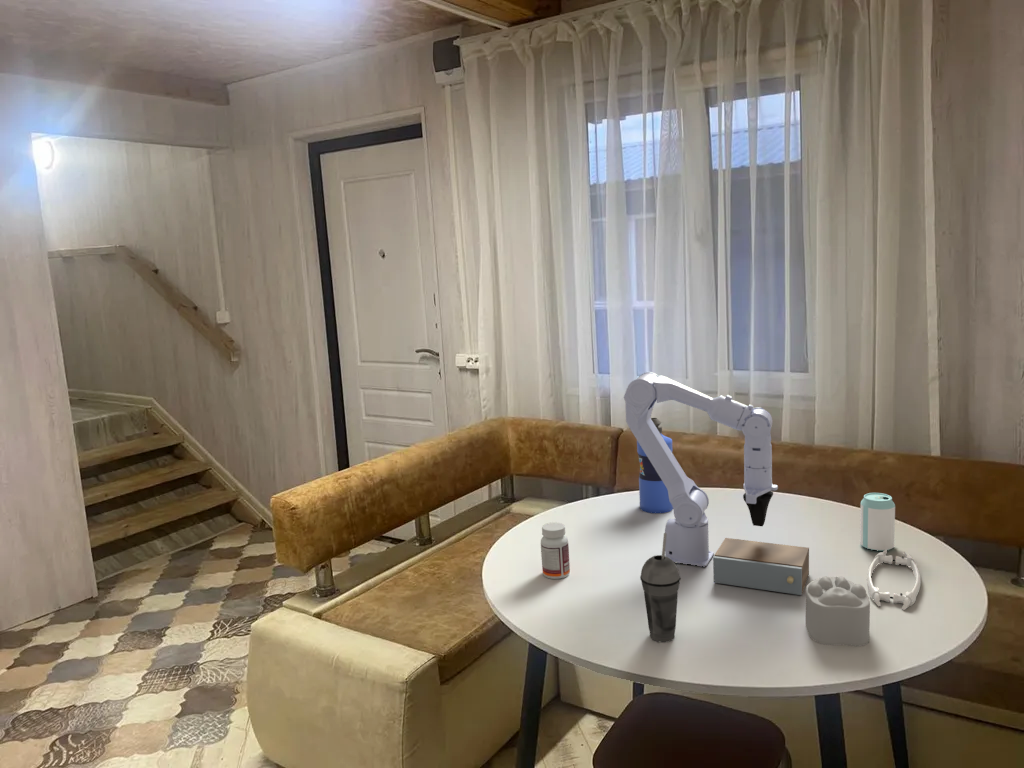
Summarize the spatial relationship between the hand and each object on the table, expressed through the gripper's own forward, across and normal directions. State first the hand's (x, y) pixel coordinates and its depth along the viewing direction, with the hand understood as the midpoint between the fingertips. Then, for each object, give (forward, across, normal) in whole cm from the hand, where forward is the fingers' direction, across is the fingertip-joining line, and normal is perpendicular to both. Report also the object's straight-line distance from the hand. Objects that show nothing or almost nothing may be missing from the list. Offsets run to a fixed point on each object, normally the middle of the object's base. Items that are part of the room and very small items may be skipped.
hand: (758, 524), depth 169 cm
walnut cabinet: (+9, -6, -2) cm, 11 cm away
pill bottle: (+10, -20, +40) cm, 46 cm away
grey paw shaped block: (+10, -22, -19) cm, 31 cm away
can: (+10, +19, -22) cm, 31 cm away
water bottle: (+10, +28, +33) cm, 44 cm away
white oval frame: (+10, +1, -27) cm, 29 cm away
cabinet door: (+9, -12, -2) cm, 16 cm away
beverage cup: (+10, -37, +10) cm, 40 cm away
